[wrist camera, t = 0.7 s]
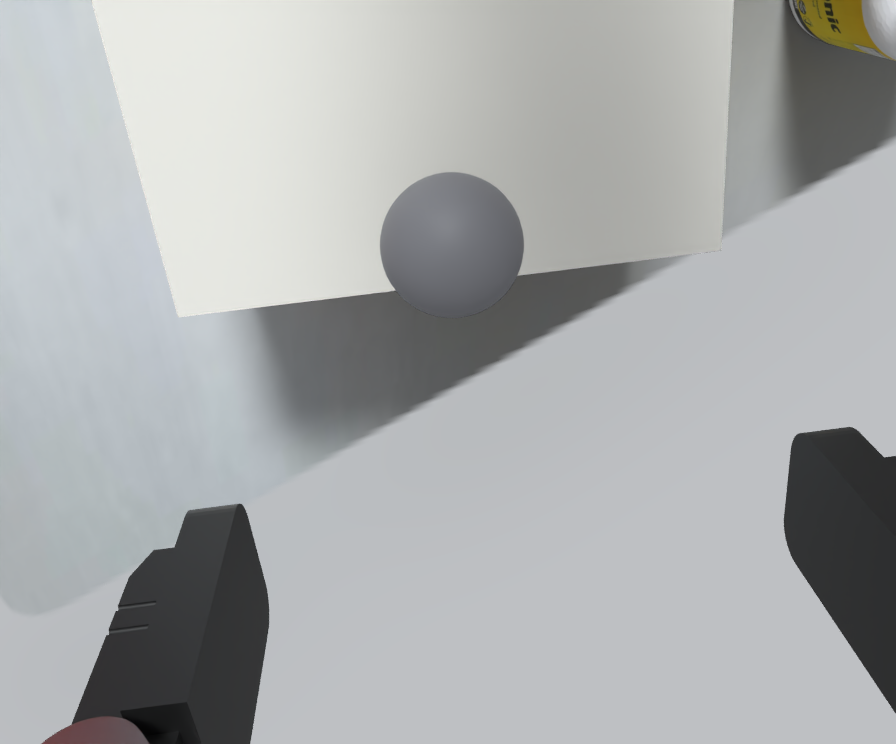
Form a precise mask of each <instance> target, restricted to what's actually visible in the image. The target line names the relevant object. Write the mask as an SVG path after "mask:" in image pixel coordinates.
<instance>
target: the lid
mask: <svg viewBox="0 0 896 744" xmlns="http://www.w3.org/2000/svg"><path fill="white" fill-rule="evenodd" d="M91 1H92V5H93V8H94V12H95V16H96V19H97V23H98V27H99V30H100V34H101V38H102V41H103V45H104V49H105V52H106V56H107V60H108V63H109V67H110V71H111V74H112V78H113V81H114V85H115V89H116V92H117V96H118V100H119V103H120V107H121V111H122V114H123V118H124V122H125V125H126V129H127V133H128V136H129V140H130V144H131V147H132V151H133V155H134V158H135V162H136V165H137V169H138V173H139V176H140V180H141V184H142V187H143V191H144V195H145V198H146V202H147V206H148V209H149V213H150V217H151V220H152V224H153V228H154V231H155V235H156V238H157V242H158V246H159V249H160V253H161V257H162V260H163V264H164V268H165V271H166V275H167V279H168V282H169V286H170V290H171V293H172V297H173V301H174V304H175V308H176V311H177V315H178V317H185V316H193V315H202V314H210V313H218V312H226V311H234V310H242V309H250V308H259V307H267V306H275V305H283V304H291V303H299V302H307V301H316V300H324V299H332V298H340V297H348V296H356V295H364V294H373V293H381V292H389V291H396V292H397V293H398V294H399V295H400V296H401V297H402V298H403V299H404V300H405V301H406V302H408V303H409V304H410V305H412V306H413V307H415V308H417V309H418V310H420V311H423V312H425V313H427V314H430V315H433V316H438V317H443V318H460V317H466V316H470V315H473V314H477V313H479V312H481V311H484V310H486V309H487V308H489V307H491V306H492V305H494V304H495V303H496V302H497V301H499V300H500V299H501V298H502V297H503V296H504V295H505V294H506V293H507V291H508V290H509V289H510V287H511V286H512V284H513V283H514V281H515V279H516V277H517V276H519V275H527V274H536V273H544V272H552V271H560V270H568V269H576V268H584V267H593V266H601V265H609V264H617V263H625V262H633V261H642V260H650V259H658V258H666V257H674V256H682V255H690V254H699V253H707V252H715V251H721V245H722V226H723V206H724V187H725V167H726V148H727V128H728V109H729V89H730V70H731V50H732V31H733V11H734V0H91Z"/></svg>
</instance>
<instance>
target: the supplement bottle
mask: <svg viewBox="0 0 896 744" xmlns="http://www.w3.org/2000/svg"><path fill="white" fill-rule="evenodd" d="M789 3H790V7H791V10H792V12H793V15H794V17H795V19H796V20H797V22H798V23H799V25H800V26H801V27H802V28H803V29H804V30H805V31H806V32H807V33H808V34H810V35H811V36H813V37H815V38H816V39H818V40H820V41H823V42H825V43H827V44H831V45H835V46H839V47H843V48H847V49H851V50H855V51H859V52H863V53H867V54H870V55H874V56H878V57H882V58H886V59H890V60H894V61H896V0H789Z"/></svg>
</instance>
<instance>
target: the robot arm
mask: <svg viewBox="0 0 896 744" xmlns="http://www.w3.org/2000/svg"><path fill="white" fill-rule="evenodd" d="M784 530H785V537H786V541H787V545H788V548H789V551H790V554H791V556H792V558H793V560H794V562H795V563H796V565H797V566H798V568H799V569H800V571H801V572H802V574H803V576H804V577H805V578H806V580H807V581H808V583H809V584H810V586H811V587H812V589H813V590H814V592H815V593H816V595H817V596H818V598H819V599H820V601H821V602H822V604H823V605H824V607H825V608H826V610H827V611H828V613H829V614H830V616H831V617H832V619H833V620H834V622H835V623H836V625H837V626H838V628H839V629H840V631H841V632H842V634H843V635H844V637H845V638H846V640H847V641H848V643H849V644H850V646H851V647H852V649H853V650H854V652H855V653H856V655H857V656H858V658H859V659H860V661H861V662H862V664H863V665H864V667H865V668H866V670H867V671H868V672H869V674H870V676H871V677H872V678H873V680H874V682H875V683H876V685H877V686H878V688H879V689H880V691H881V692H882V694H883V695H884V697H885V698H886V700H887V701H888V703H889V704H890V705H891V707H892V709H893V710H894V712H895V713H896V456H893V457H885V458H884V457H883V456H882V455H881V454H880V453H879V452H878V451H877V450H876V449H875V448H874V447H873V446H872V445H871V444H870V443H869V442H868V441H867V440H866V439H865V438H864V437H863V436H862V435H861V434H860V433H859V432H858V431H857V430H856V429H854V428H852V427H846V428H839V429H830V430H822V431H815V432H807V433H800V434H797V435H796V436H795V438H794V440H793V443H792V446H791V455H790V465H789V474H788V485H787V494H786V504H785V514H784ZM118 608H119V610H118V611H116V612H115V615H114V618H113V620H112V622H111V625H110V628H109V635H107V636H106V638H105V640H104V643H103V645H102V648H101V651H100V653H99V656H98V658H97V661H96V663H95V666H94V668H93V671H92V673H91V676H90V678H89V681H88V684H87V686H86V689H85V691H84V694H83V696H82V699H81V702H80V704H79V707H78V709H77V712H76V714H75V717H74V719H73V722H72V725H70V726H68V727H66V728H64V729H62V730H60V731H58V732H57V733H55V734H54V735H52V736H51V737H49V738H48V739H46V740H45V741H44V742H43V743H42V744H250V741H251V735H252V729H253V723H254V716H255V710H256V703H257V697H258V691H259V685H260V679H261V673H262V667H263V660H264V654H265V647H266V642H267V634H268V628H269V603H268V594H267V588H266V584H265V580H264V576H263V572H262V568H261V565H260V561H259V558H258V553H257V549H256V546H255V542H254V538H253V535H252V531H251V527H250V523H249V519H248V516H247V513H246V510H245V508H244V506H243V505H242V504H234V505H226V506H219V507H211V508H203V509H195V510H189V511H188V512H187V514H186V516H185V518H184V521H183V524H182V527H181V530H180V533H179V536H178V539H177V542H176V545H175V548H167V549H160V550H154V551H153V552H152V553H151V554H150V555H149V556H148V557H147V558H146V559H145V560H144V561H143V563H142V564H141V565H140V566H139V567H138V568H137V569H136V570H135V571H134V572H133V573H132V575H131V576H130V577H129V579H128V582H127V584H126V587H125V589H124V592H123V594H122V597H121V600H120V603H119V605H118Z"/></svg>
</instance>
